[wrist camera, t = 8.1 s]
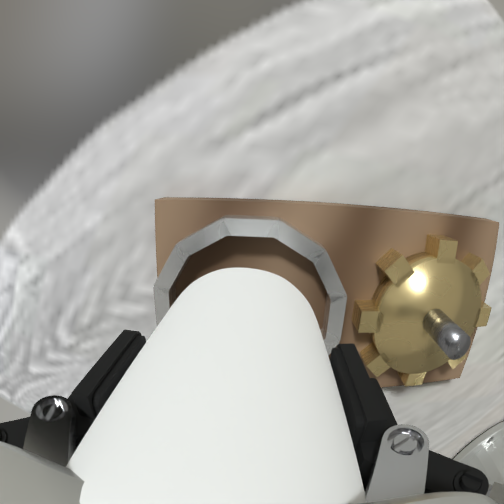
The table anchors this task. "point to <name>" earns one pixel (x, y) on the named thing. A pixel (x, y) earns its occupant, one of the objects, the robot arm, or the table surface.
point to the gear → (422, 310)
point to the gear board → (335, 243)
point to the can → (225, 406)
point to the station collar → (257, 228)
